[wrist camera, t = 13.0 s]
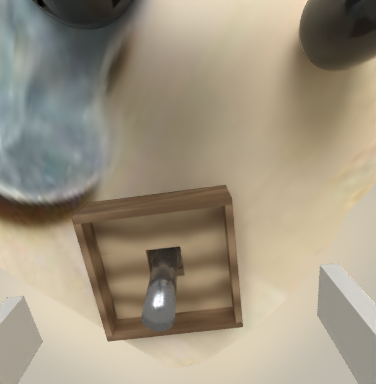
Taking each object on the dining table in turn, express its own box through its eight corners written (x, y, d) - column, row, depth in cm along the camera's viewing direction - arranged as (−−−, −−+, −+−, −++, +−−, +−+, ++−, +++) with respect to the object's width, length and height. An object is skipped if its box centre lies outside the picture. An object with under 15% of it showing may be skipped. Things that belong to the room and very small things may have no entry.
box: (87, 202, 41) (71, 218, 36) (225, 185, 41) (231, 197, 35) (117, 313, 48) (107, 341, 42) (236, 300, 47) (242, 327, 42)
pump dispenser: (373, -17, 33) (522, -116, 18) (359, 73, 36) (475, 51, 21) (292, -15, 33) (375, -111, 18) (284, 76, 36) (350, 55, 21)
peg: (153, 246, 44) (138, 306, 31) (176, 243, 44) (172, 302, 30) (157, 266, 45) (144, 333, 32) (180, 263, 45) (177, 329, 32)
